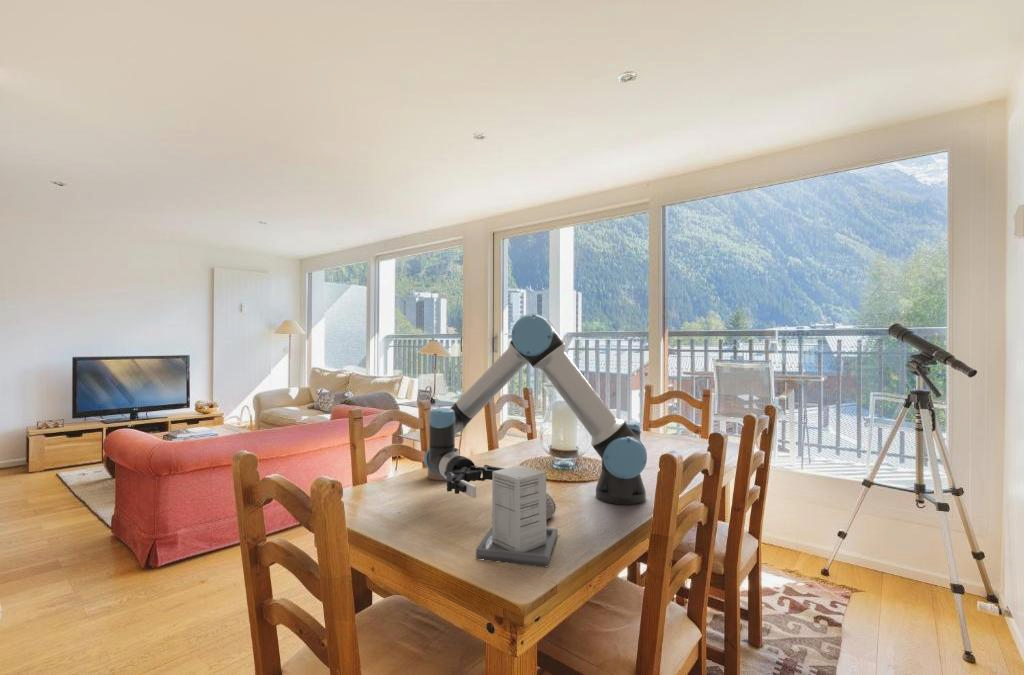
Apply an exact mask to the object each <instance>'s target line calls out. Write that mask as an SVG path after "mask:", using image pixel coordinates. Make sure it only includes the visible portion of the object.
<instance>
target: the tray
mask: <svg viewBox="0 0 1024 675" xmlns="http://www.w3.org/2000/svg"><path fill="white" fill-rule="evenodd" d="M558 533H559V532H558V528H553V527H552V528H551V527H550V528H549V527H546V544H545V545H543V546H540V547H537V548H535V549H532V550H529V551H527V552H516V551H509V550H507V549H505V548H503V547H501V546H499V545H497V544H495V543H493V542H492V526H491V528H490V529H489V531H488V532H487V533H486V535H485V536H484V538H483V539H482V540H481V541H480V543H479V545H478V546H477V548H476V550H475V553H476V554H475V559H476V558H477V559H484V560H483V561H486V560H491V561H490V562H496V561H500V562H499V563H505V562H508V563H507V564H514V563H515V564H517V565H525V566H533V565H536V567H542V566H548V565H550V563H549V562H551V559H552V556H553V553H554V550H555V546H556V544H557V541H558V539H559V538H558ZM477 559H476V560H477ZM548 567H549V566H548Z"/></svg>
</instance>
